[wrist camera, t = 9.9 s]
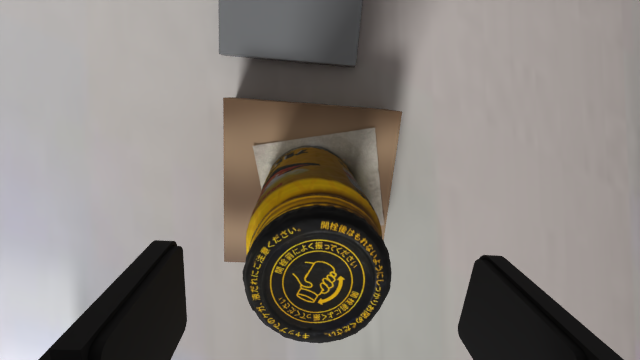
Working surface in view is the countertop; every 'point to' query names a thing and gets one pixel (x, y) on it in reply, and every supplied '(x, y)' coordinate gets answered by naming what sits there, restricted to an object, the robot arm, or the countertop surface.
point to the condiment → (317, 237)
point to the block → (282, 125)
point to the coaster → (291, 30)
